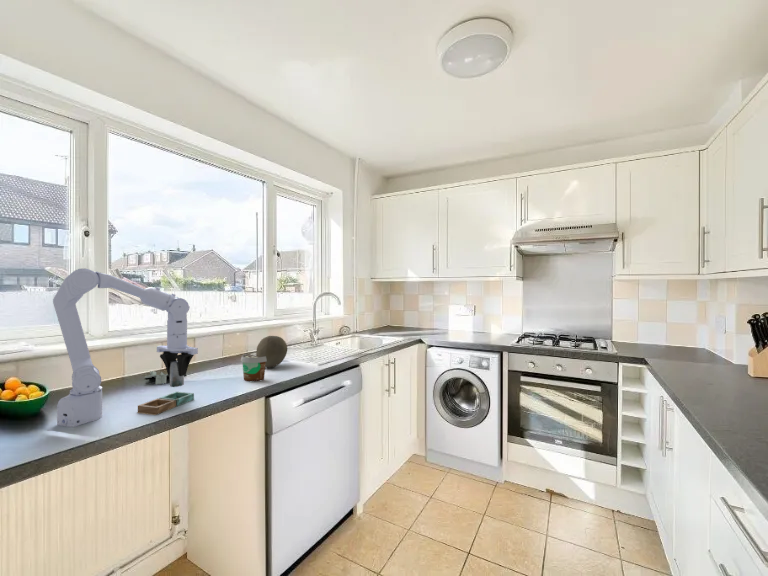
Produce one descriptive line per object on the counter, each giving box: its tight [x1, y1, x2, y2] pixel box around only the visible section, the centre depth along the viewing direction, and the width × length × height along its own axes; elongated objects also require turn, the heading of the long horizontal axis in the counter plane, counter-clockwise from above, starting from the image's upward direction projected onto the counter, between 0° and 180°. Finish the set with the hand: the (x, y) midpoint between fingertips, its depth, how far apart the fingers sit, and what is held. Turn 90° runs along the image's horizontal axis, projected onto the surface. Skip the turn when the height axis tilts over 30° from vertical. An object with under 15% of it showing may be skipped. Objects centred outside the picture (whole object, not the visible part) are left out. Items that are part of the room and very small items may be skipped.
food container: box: [240, 353, 267, 382], centre depth 149 cm, size 12×6×10 cm, turn 62°
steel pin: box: [169, 359, 185, 388], centre depth 118 cm, size 4×4×8 cm
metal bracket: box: [144, 370, 170, 385], centre depth 147 cm, size 14×6×15 cm
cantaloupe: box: [255, 335, 288, 369], centre depth 172 cm, size 14×14×15 cm
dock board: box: [136, 391, 195, 416], centre depth 114 cm, size 16×7×3 cm, turn 166°
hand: (176, 374), depth 118 cm, fingers closed on steel pin, 4 cm apart
